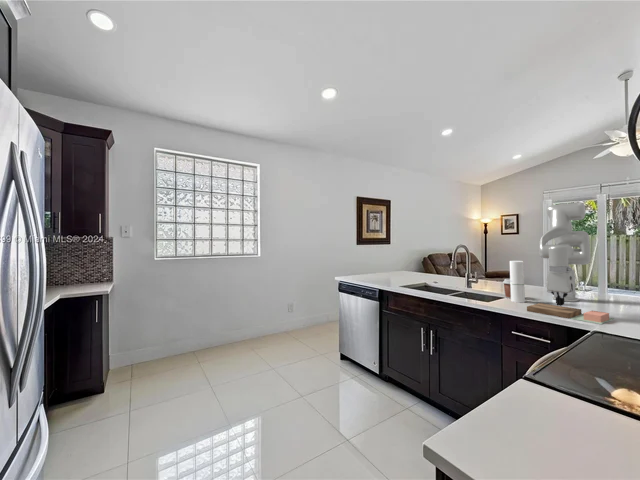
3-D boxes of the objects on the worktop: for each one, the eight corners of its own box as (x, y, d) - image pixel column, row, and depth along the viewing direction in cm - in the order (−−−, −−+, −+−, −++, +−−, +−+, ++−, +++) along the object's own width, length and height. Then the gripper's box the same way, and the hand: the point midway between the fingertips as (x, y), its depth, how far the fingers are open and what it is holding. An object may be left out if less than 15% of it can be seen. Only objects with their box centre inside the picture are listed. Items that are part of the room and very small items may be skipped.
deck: (540, 307, 158) (540, 303, 158) (581, 314, 142) (581, 309, 142) (526, 311, 151) (526, 306, 151) (568, 318, 135) (568, 313, 135)
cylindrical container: (520, 300, 178) (519, 260, 178) (527, 302, 171) (526, 261, 171) (508, 300, 178) (507, 260, 179) (515, 302, 171) (513, 261, 171)
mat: (583, 314, 142) (583, 313, 142) (613, 319, 132) (613, 318, 132) (570, 318, 135) (569, 318, 135) (600, 324, 125) (600, 323, 125)
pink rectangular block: (609, 313, 131) (609, 319, 131) (592, 310, 136) (592, 316, 136) (600, 315, 127) (600, 322, 127) (583, 313, 132) (583, 319, 132)
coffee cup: (500, 296, 191) (500, 278, 191) (515, 296, 189) (515, 278, 189) (506, 299, 182) (506, 280, 182) (522, 299, 180) (521, 280, 180)
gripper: (580, 270, 140) (582, 306, 140) (545, 268, 153) (546, 301, 153) (573, 271, 136) (575, 309, 136) (538, 269, 149) (539, 303, 149)
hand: (560, 305), depth 144 cm, fingers closed
